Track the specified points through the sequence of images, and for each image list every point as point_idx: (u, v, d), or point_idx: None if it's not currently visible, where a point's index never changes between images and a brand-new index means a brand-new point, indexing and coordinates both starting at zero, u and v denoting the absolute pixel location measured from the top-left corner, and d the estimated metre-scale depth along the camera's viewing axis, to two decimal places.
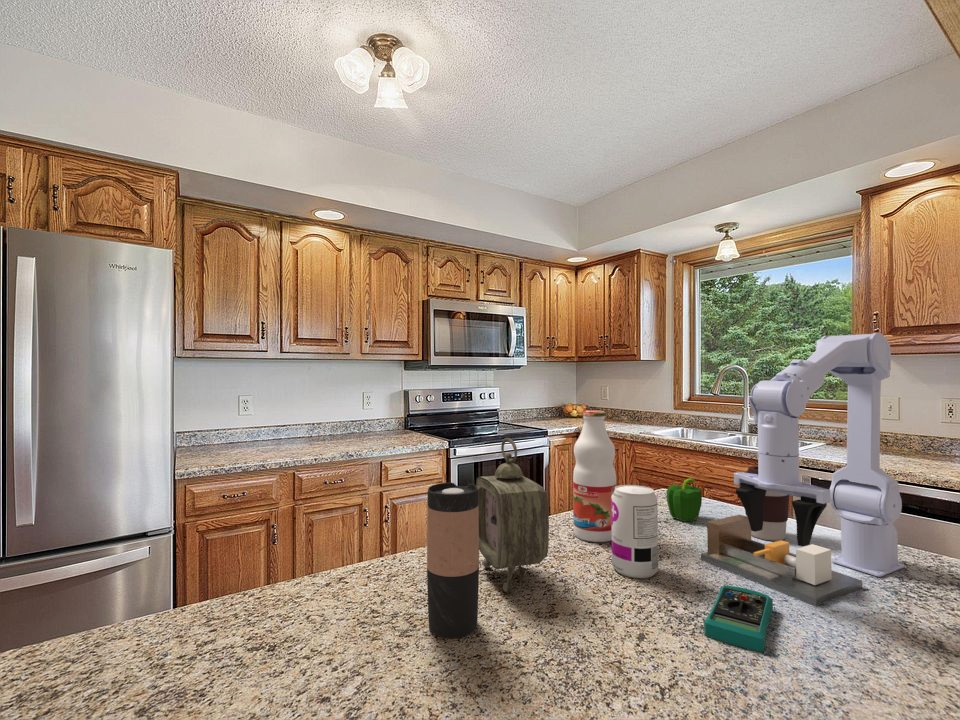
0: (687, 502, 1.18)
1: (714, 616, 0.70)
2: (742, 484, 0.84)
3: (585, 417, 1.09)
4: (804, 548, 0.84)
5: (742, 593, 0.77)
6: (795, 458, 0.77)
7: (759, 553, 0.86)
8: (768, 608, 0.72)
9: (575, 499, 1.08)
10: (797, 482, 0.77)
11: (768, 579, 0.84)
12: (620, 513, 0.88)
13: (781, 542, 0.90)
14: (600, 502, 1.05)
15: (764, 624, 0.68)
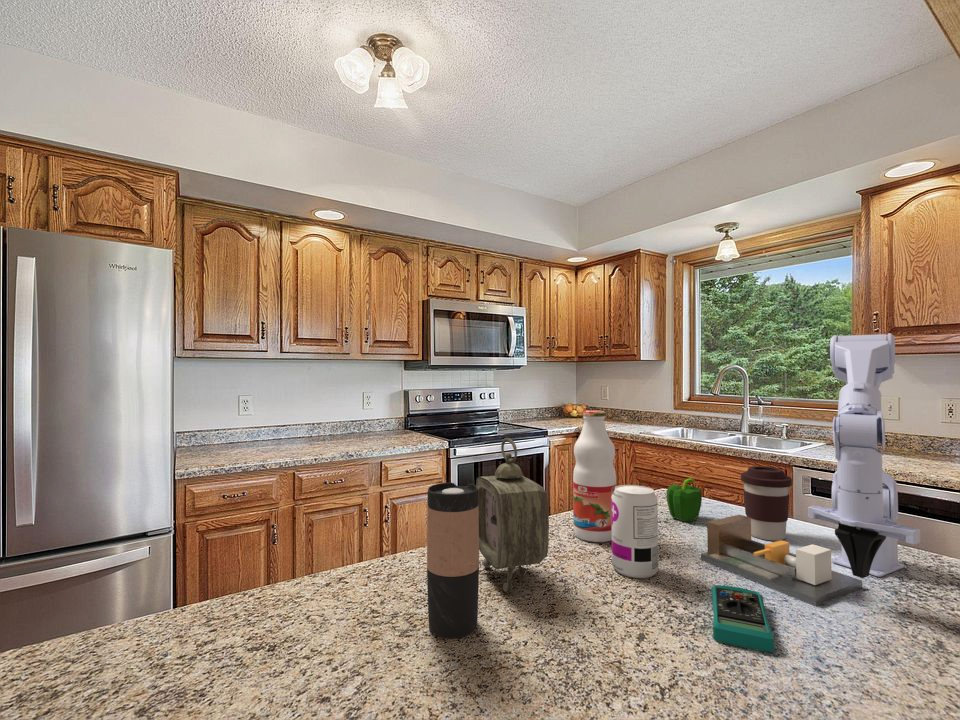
0: (687, 502, 1.18)
1: (720, 619, 0.69)
2: None
3: (585, 417, 1.09)
4: (804, 548, 0.84)
5: (734, 592, 0.77)
6: (879, 495, 0.75)
7: (759, 553, 0.86)
8: (763, 606, 0.73)
9: (575, 499, 1.08)
10: (881, 520, 0.75)
11: (768, 579, 0.84)
12: (620, 513, 0.88)
13: (781, 542, 0.90)
14: (600, 502, 1.05)
15: (768, 623, 0.68)
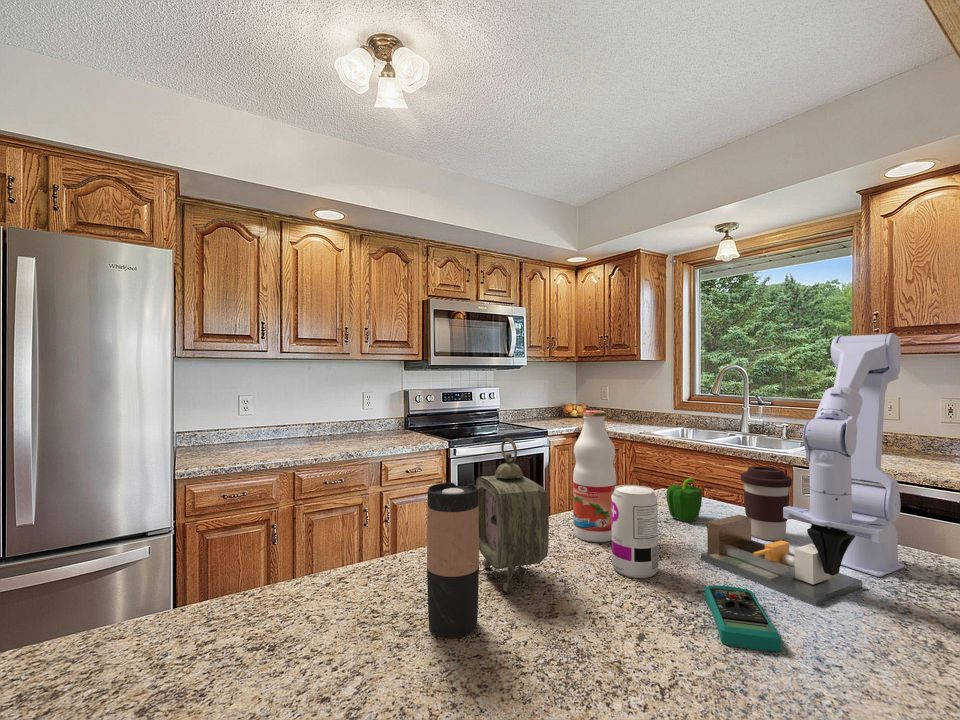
0: (687, 502, 1.18)
1: (725, 622, 0.69)
2: None
3: (585, 417, 1.09)
4: (802, 547, 0.84)
5: (727, 591, 0.78)
6: (848, 496, 0.79)
7: (759, 553, 0.86)
8: (759, 604, 0.74)
9: (575, 499, 1.08)
10: (850, 520, 0.79)
11: (768, 579, 0.84)
12: (620, 513, 0.88)
13: (781, 542, 0.90)
14: (600, 502, 1.05)
15: (770, 622, 0.68)
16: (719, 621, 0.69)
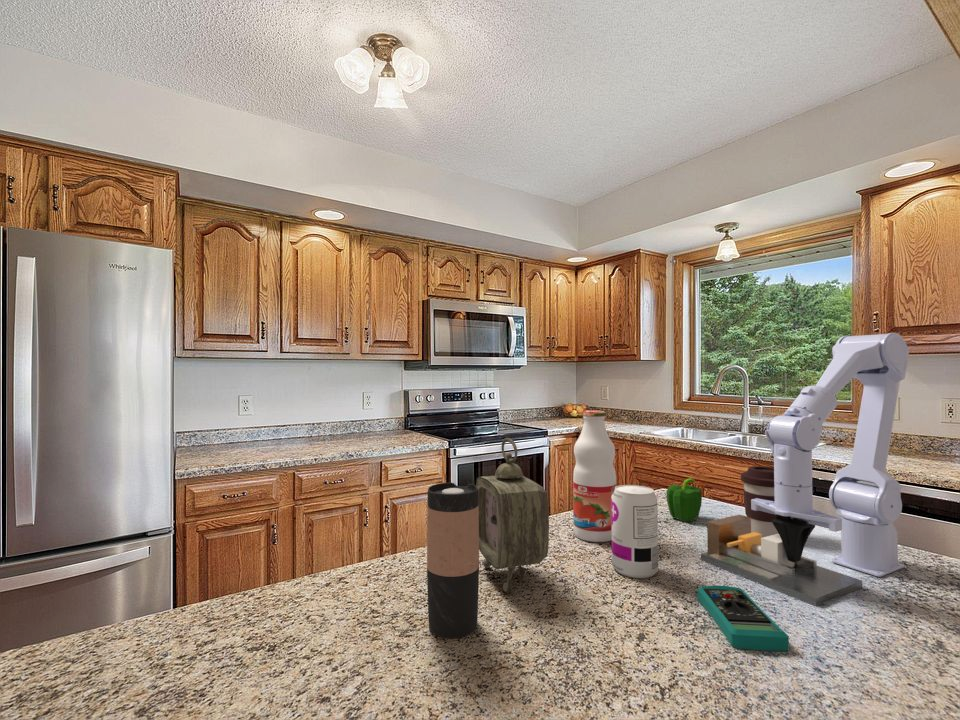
0: (687, 502, 1.18)
1: (731, 624, 0.68)
2: (759, 510, 0.91)
3: (585, 417, 1.09)
4: (769, 537, 0.90)
5: (720, 591, 0.78)
6: (809, 488, 0.84)
7: (732, 544, 0.91)
8: (753, 602, 0.74)
9: (575, 499, 1.08)
10: (811, 510, 0.84)
11: (768, 579, 0.84)
12: (620, 513, 0.88)
13: (754, 534, 0.94)
14: (600, 502, 1.05)
15: (771, 620, 0.69)
16: (726, 624, 0.68)
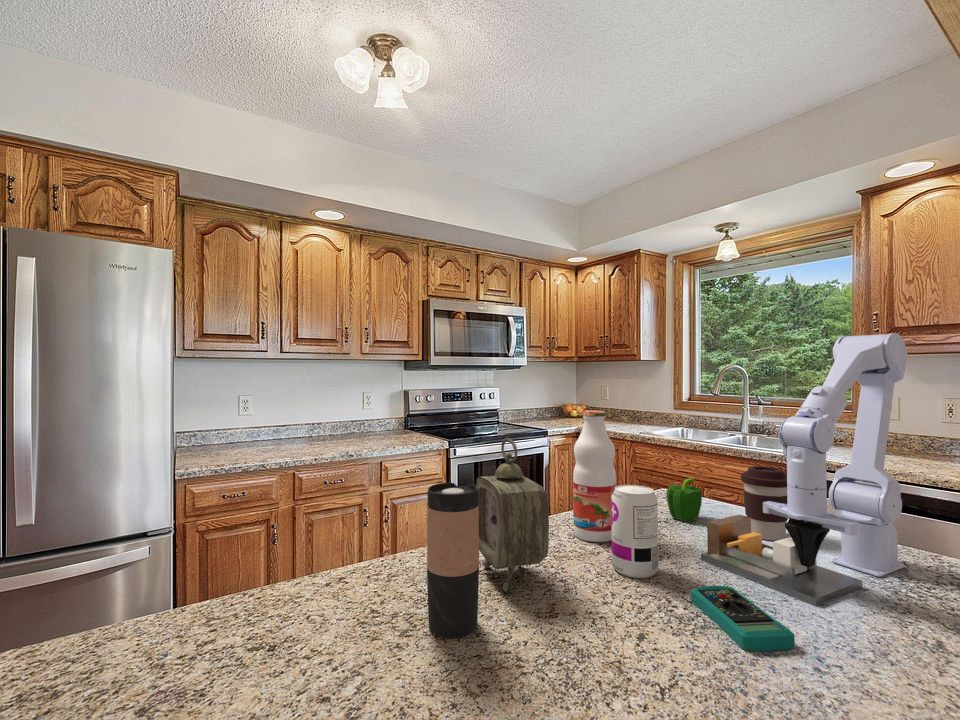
0: (687, 502, 1.18)
1: (738, 626, 0.67)
2: (771, 513, 0.89)
3: (585, 417, 1.09)
4: (781, 541, 0.88)
5: (714, 591, 0.77)
6: (823, 491, 0.82)
7: (732, 544, 0.91)
8: (748, 600, 0.75)
9: (575, 499, 1.08)
10: (825, 514, 0.82)
11: (768, 579, 0.84)
12: (620, 513, 0.88)
13: (754, 534, 0.94)
14: (600, 502, 1.05)
15: None
16: (734, 627, 0.67)
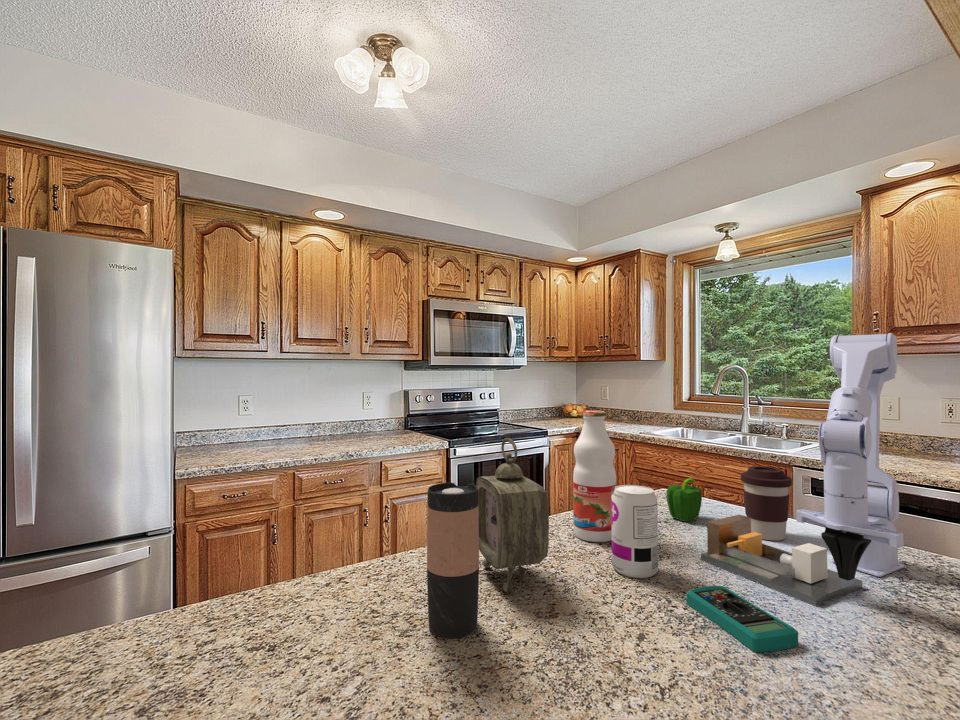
0: (687, 502, 1.18)
1: None
2: (805, 522, 0.84)
3: (585, 417, 1.09)
4: (800, 547, 0.85)
5: (709, 592, 0.77)
6: (864, 500, 0.77)
7: (732, 544, 0.91)
8: (742, 599, 0.75)
9: (575, 499, 1.08)
10: (866, 524, 0.77)
11: (768, 579, 0.84)
12: (620, 513, 0.88)
13: (754, 534, 0.94)
14: (600, 502, 1.05)
15: None
16: (741, 628, 0.67)
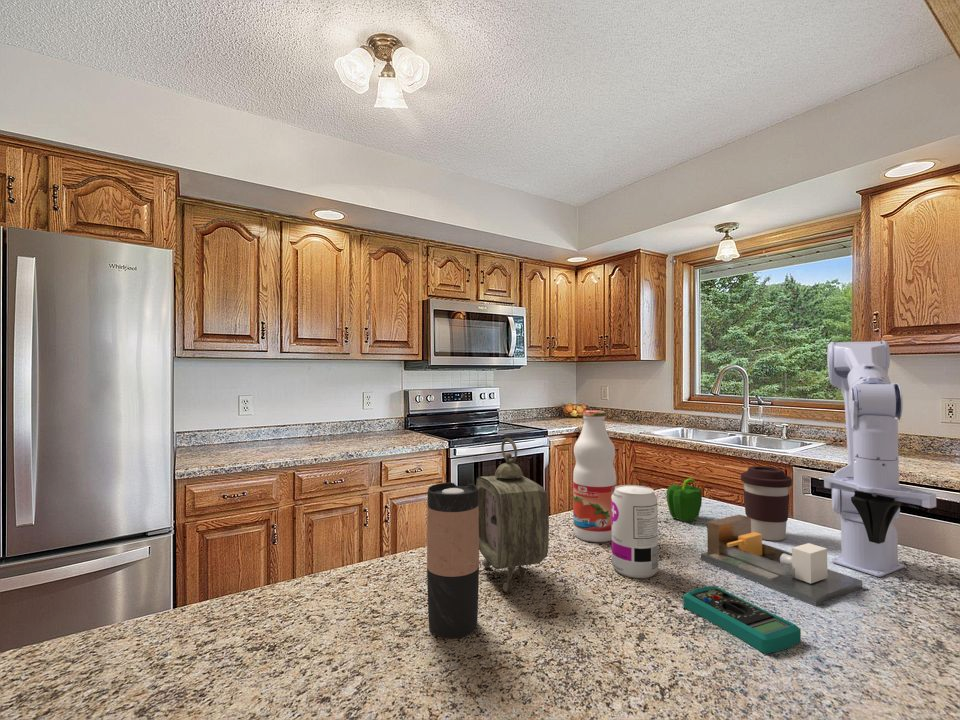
0: (687, 502, 1.18)
1: None
2: (834, 488, 0.84)
3: (585, 417, 1.09)
4: (800, 547, 0.85)
5: (704, 593, 0.77)
6: (895, 462, 0.77)
7: (732, 544, 0.91)
8: (737, 598, 0.76)
9: (575, 499, 1.08)
10: (897, 486, 0.77)
11: (768, 579, 0.84)
12: (620, 513, 0.88)
13: (754, 534, 0.94)
14: (600, 502, 1.05)
15: None
16: (749, 630, 0.66)
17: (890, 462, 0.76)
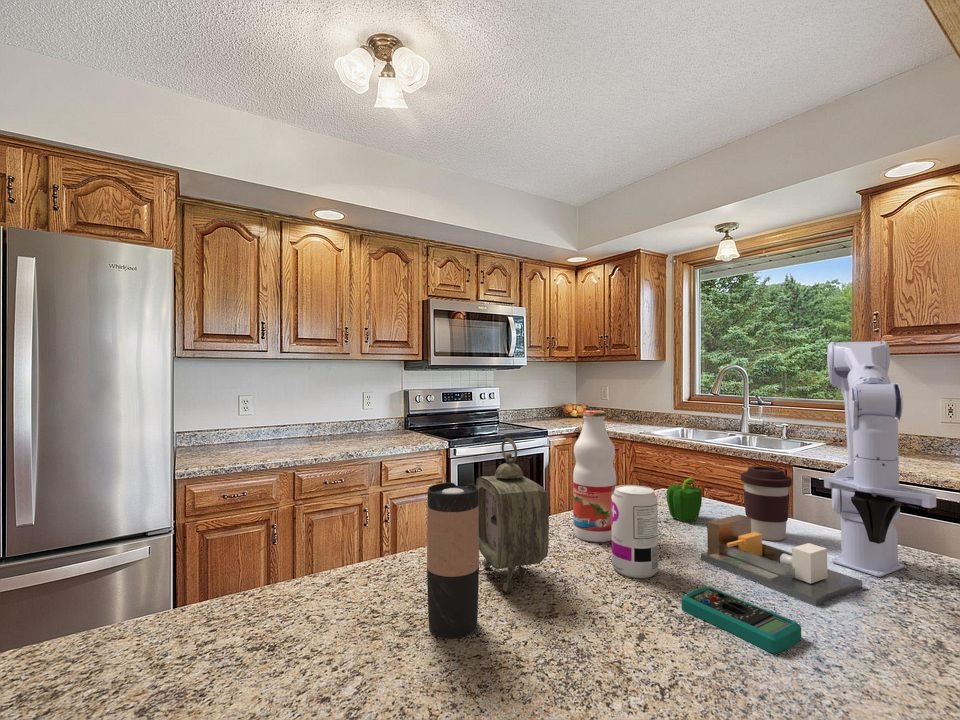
0: (687, 502, 1.18)
1: None
2: (834, 488, 0.84)
3: (585, 417, 1.09)
4: (800, 547, 0.85)
5: (701, 595, 0.76)
6: (896, 462, 0.77)
7: (732, 544, 0.91)
8: (732, 597, 0.76)
9: (575, 499, 1.08)
10: (897, 486, 0.77)
11: (768, 579, 0.84)
12: (620, 513, 0.88)
13: (754, 534, 0.94)
14: (600, 502, 1.05)
15: None
16: (755, 631, 0.66)
17: (890, 462, 0.76)
